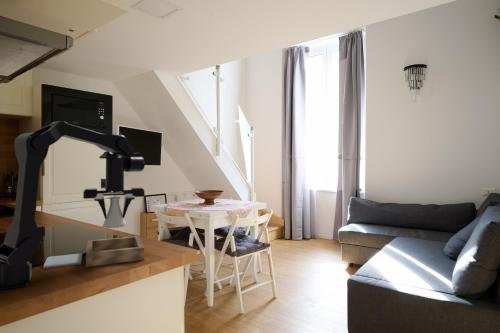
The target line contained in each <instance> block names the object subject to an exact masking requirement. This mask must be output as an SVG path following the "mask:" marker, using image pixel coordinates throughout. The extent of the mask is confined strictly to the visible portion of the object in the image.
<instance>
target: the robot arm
mask: <svg viewBox="0 0 500 333" xmlns="http://www.w3.org/2000/svg"><path fill="white" fill-rule="evenodd" d="M61 138H67V139H70V140H75V141H79V142H83V143H86V144H92V145H93V146H96V147H97V148H99V149H100V150H103V151H104V152H103V153H102V154H101V155H100V156H99V159H103V160H105V178H100V189H101V190H98V188H85V189H84V190H83V193H82V197H83V199H84V200H88V199H90V200H91V199H94V202H98V205H99V207H100V208H101V211H102V215H103V217H104V220H105V219H106V216H107V210H106V203H105V197H107V196H111V197H114V196H124V199H123V201H124V202H123V208H122V209H123V210H122V215H123V218H124V219H125V217H126V214H127V211H128V208H129V206H130V204H131V203H132V201H133V200H136V198H139V197H140V198H143V197H145V189H144V188H143V187H141V186H139V187H131V188H130V189H125V172H126V173H130V172H135V173H138V172H139V173H140V172H142V171H143V170H144V169H145V166H146V162H145V159H144V157H143V156H142V154H141V152H133V150H132V148H131V146H130V145H129V143H128V140H127V138H126V137H125V135H122V134H112V133H101V132H97V131H95V130H92V129H87V128H84V127H81V126H78V125H74V124H71V123H68V122H66V121H63V120H62V121H61V120H58V121H53V122H51V123H50V124H48V125H46V126H43V127H41V128H38V129H37V130H34V131H32V132H30V133H29V132H27V133H22V134H19V135H18V136H16V138H15V139H14V142H13V143H14V153H15V158H16V159H17V162H18V166H19V167H18V175H17V176H18V177H17V178H18V179H17V186H16V195H15V203H14V204H15V205H14V206H15V207H14V214H13V220H12V221H11V223H10V224H9V227H8V228H7V230H6V233H5V237H4V240H3V242H2V243H1V245H0V291H1V290H8V289H15V288H23V287H26V286H27V285H28V284H29V282H30V281H31V279H32V275H33V274H32V269H33V267H32V265H33V264H32V263H31V262H32V259H33V257H34V255H35V252H36V251H37V250H38V249H39V248H40V245H41V243H43V241H44V239H43V232H44V226H43V225H38V224H37V220H36V212H37V203H38V202H37V201H38V193H39V184H40V183H39V181H40V175H41V174H40V173H41V167H42V165H43V163H44V161H45V160H46V158H47V155H48V152H49V149H50V146H52V145H53V144H55V143H57V142H58V141H59V140H61ZM102 189H104V190H102Z"/></svg>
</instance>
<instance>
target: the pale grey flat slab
mask: <svg viewBox="0 0 500 333" xmlns="http://www.w3.org/2000/svg"><path fill="white" fill-rule="evenodd" d="M82 260H83V252H82V253H74V254H62V255H53V256H48V257H47V258H46V260H45V262H44V264H43V266H42V268H43V269H48V268H58V267H66V266H77V265H82Z"/></svg>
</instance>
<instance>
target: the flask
mask: <svg viewBox="0 0 500 333" xmlns="http://www.w3.org/2000/svg"><path fill="white" fill-rule="evenodd" d="M108 199H109V200H110V202H109V203H110V204H109V209H108V211H107V213H106V219H105V218H104V221H103V224H102V226H101V227H102V228H108V229H117V228H118V229H119V228H122V227H125V226H127V222H126V220H125V217H124V218H123V211H122V210H121V209H122V208H121V206H120V199H121V197H120V196H111V197H109V198H108Z"/></svg>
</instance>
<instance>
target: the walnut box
mask: <svg viewBox="0 0 500 333" xmlns="http://www.w3.org/2000/svg"><path fill="white" fill-rule="evenodd" d="M85 250H86V251H85V252H86V253H85V267H87V268H88V267H96V266H104V265H113V264H119V263H120V264H121V263H129V262H135V261H136V262H137V261H143V260H145V245H144V244H143V242H142V240H141V238H140V236H139V235H136V236H135V235H134V236H123V237H114V238H111V237H110V238H102V239H101V238H99V239H90V240H89V239H88V240H87V244H86V249H85Z"/></svg>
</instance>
